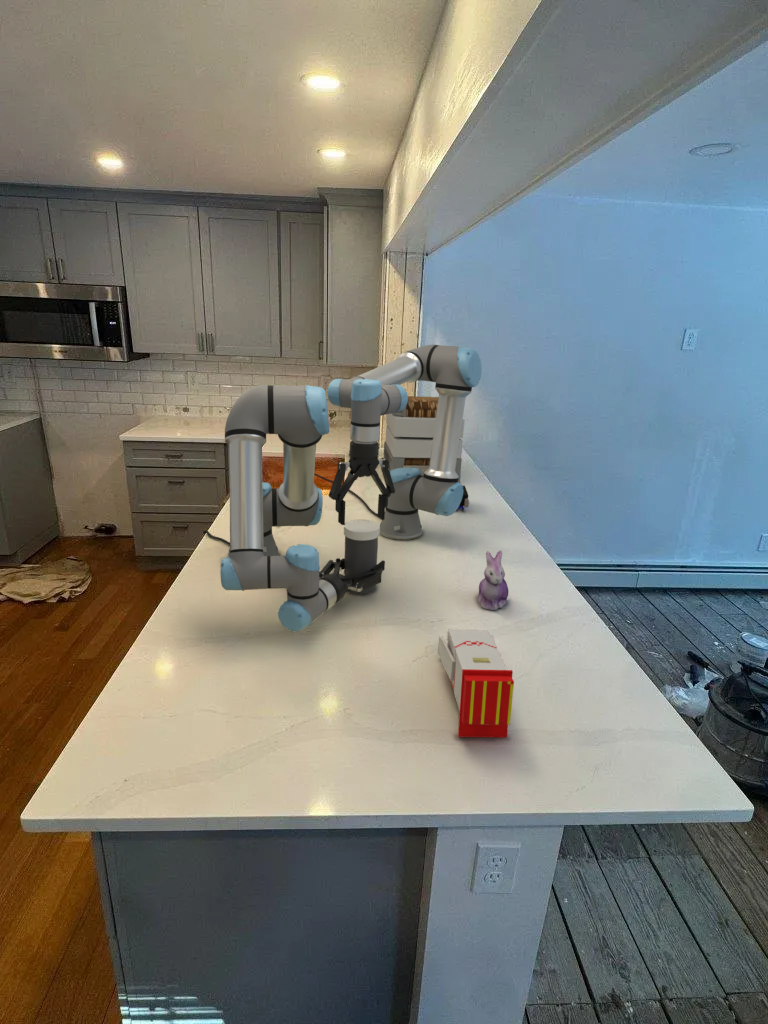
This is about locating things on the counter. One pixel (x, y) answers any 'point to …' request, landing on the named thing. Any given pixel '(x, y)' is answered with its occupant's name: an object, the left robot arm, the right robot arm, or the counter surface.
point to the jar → (360, 559)
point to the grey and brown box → (414, 434)
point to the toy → (478, 682)
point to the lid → (361, 529)
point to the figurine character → (464, 499)
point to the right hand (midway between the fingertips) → (361, 520)
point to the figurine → (493, 584)
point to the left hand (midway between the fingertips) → (368, 561)
